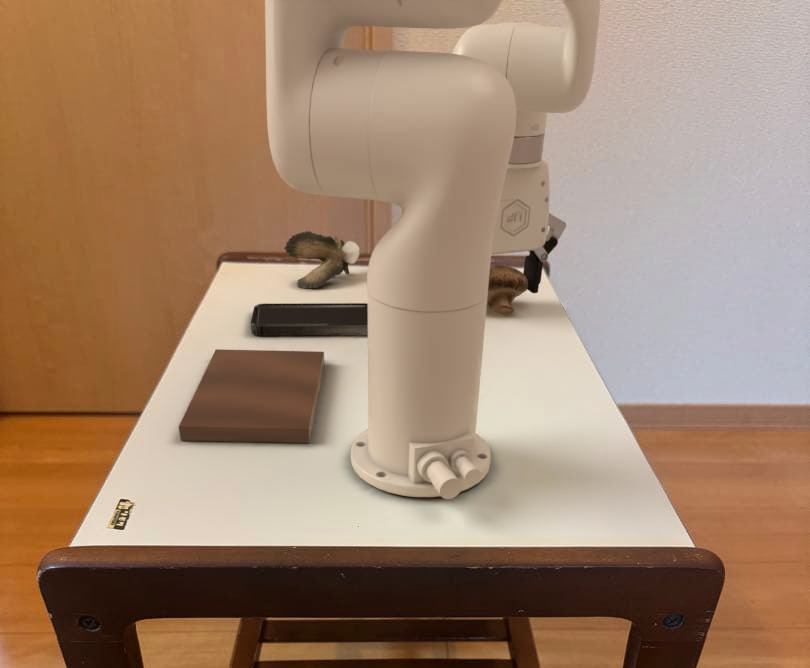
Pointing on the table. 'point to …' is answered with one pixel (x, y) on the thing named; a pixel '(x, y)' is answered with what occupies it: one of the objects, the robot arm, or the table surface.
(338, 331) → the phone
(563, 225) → the robot arm
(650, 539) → the table surface
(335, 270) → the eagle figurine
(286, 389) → the cutting board
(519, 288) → the mushroom
